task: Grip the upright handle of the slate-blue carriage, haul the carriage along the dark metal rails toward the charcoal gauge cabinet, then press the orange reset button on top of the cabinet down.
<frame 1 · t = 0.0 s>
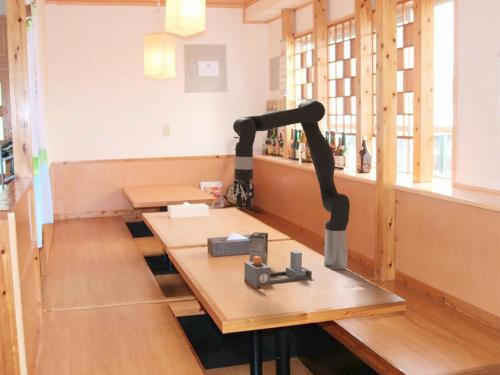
hand: (243, 207, 262), 29 cm above the table, fingers open, 8 cm apart
coffee box: (258, 271, 277), on the table
reset button: (257, 260, 255), point 10 cm above the table, slide at 0.0 cm
gauge cabinet: (257, 284, 256), resting on rail bed
guide rails: (283, 281, 261), resting on rail bed
carriage: (296, 264, 263), point 7 cm above the table, slide at 0.0 cm
rail bed: (278, 282, 260), on the table
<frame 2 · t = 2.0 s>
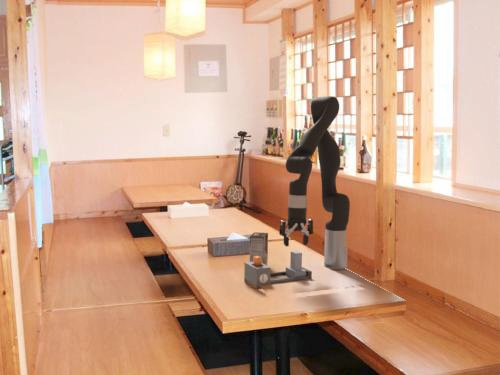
hand: (295, 245, 262), 14 cm above the table, fingers open, 8 cm apart
nothing on the table moved.
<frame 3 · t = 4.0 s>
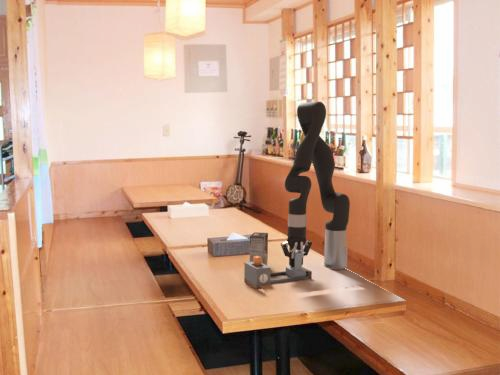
hand: (295, 266, 263), 6 cm above the table, fingers closed on carriage, 3 cm apart
carriage: (296, 264, 263), point 7 cm above the table, slide at 0.0 cm, touching gripper
everything else where it was.
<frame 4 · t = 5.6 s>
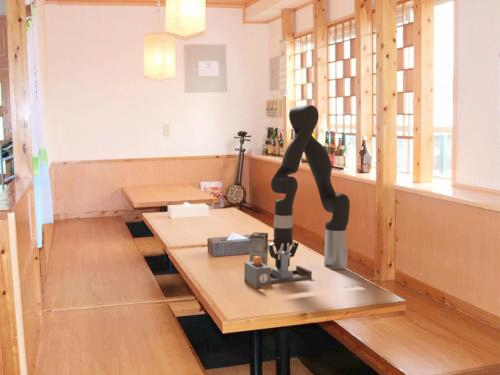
hand: (282, 267, 260), 6 cm above the table, fingers closed on carriage, 3 cm apart
carriage: (282, 265, 260), point 7 cm above the table, slide at 6.3 cm, touching gripper
everything else where it was.
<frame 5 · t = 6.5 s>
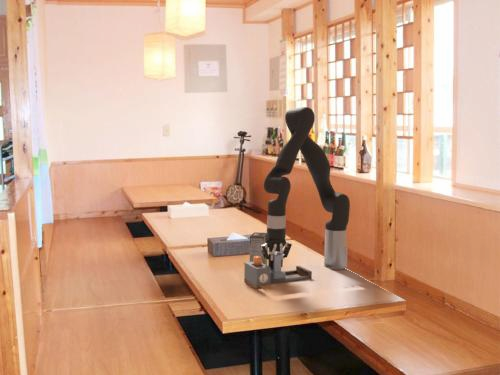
hand: (275, 268, 259), 6 cm above the table, fingers closed on carriage, 3 cm apart
carriage: (275, 266, 259), point 7 cm above the table, slide at 9.4 cm, touching gripper
everything else where it was.
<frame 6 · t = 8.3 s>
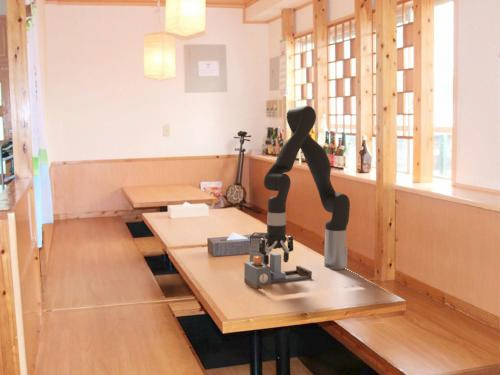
hand: (276, 263, 258), 8 cm above the table, fingers open, 8 cm apart
carriage: (275, 266, 259), point 7 cm above the table, slide at 9.4 cm
everything else where it was.
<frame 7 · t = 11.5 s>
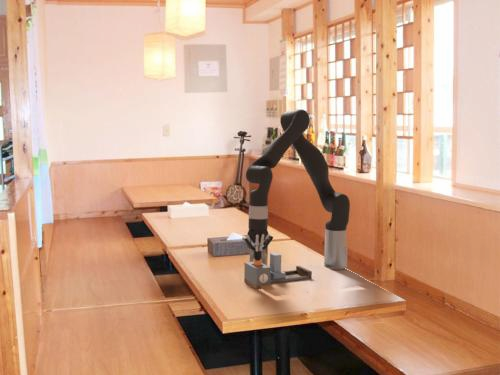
hand: (257, 260, 255), 10 cm above the table, fingers closed
reset button: (257, 263, 255), point 8 cm above the table, slide at 1.2 cm, touching gripper
everything else where it was.
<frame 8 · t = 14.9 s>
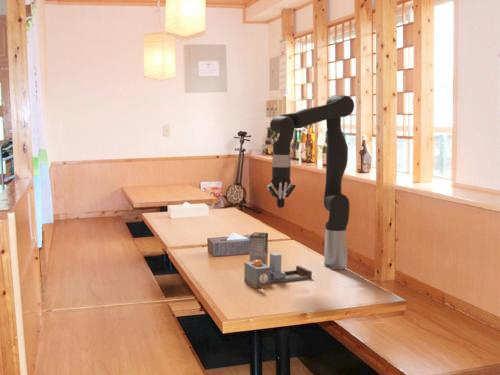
hand: (280, 207, 265), 29 cm above the table, fingers closed
reset button: (257, 264, 255), point 8 cm above the table, slide at 1.5 cm
everything else where it was.
at the end: carriage slide at 9.4 cm; reset button slide at 1.5 cm; the gripper is holding nothing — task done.
